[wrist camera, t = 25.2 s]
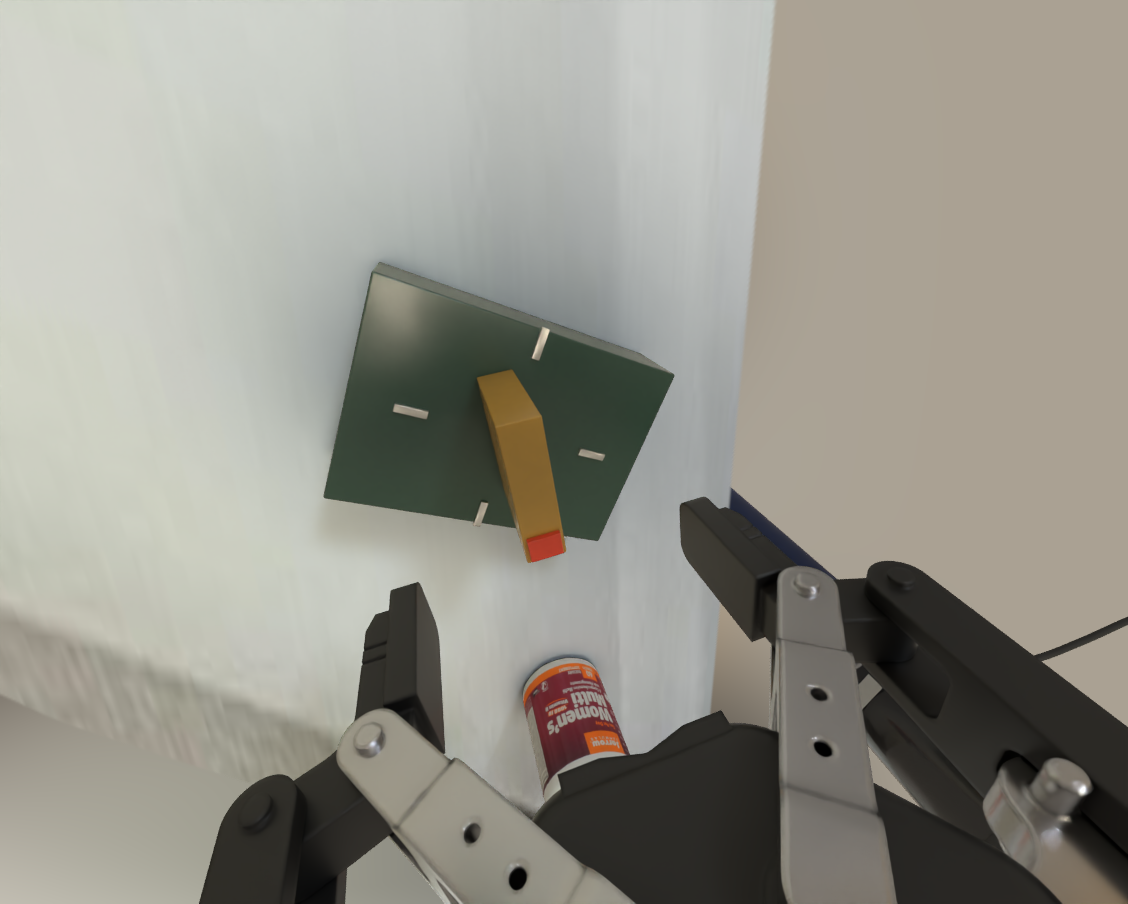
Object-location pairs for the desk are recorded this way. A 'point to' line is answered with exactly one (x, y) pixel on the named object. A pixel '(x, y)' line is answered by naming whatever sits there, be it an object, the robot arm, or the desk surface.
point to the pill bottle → (569, 719)
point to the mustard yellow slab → (523, 464)
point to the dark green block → (456, 413)
